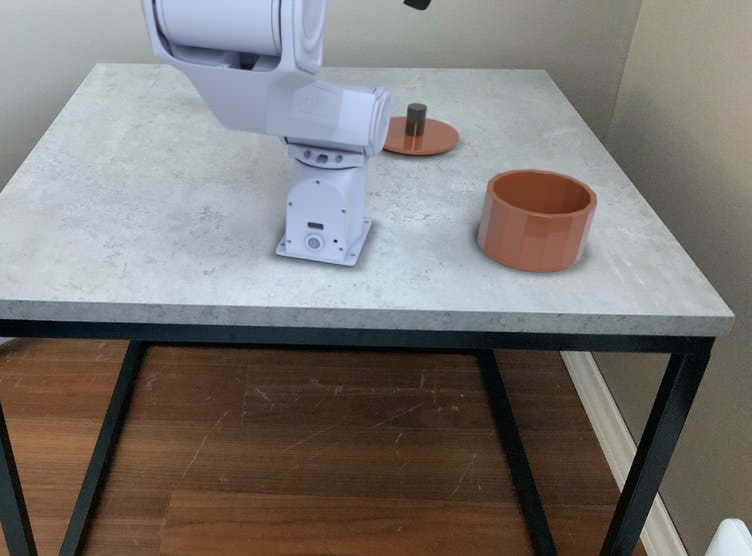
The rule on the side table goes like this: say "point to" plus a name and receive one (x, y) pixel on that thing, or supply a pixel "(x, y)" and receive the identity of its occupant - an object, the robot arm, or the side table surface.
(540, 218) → the canister
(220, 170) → the side table surface
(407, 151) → the lid
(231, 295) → the side table surface
